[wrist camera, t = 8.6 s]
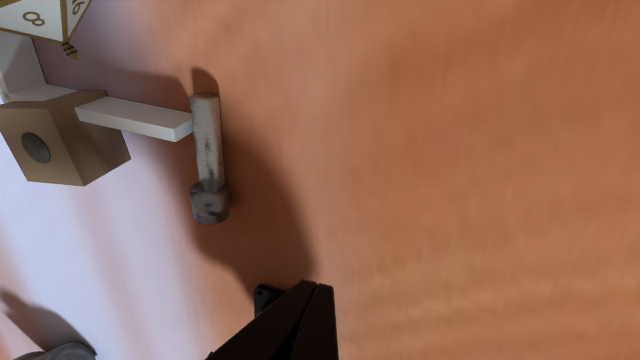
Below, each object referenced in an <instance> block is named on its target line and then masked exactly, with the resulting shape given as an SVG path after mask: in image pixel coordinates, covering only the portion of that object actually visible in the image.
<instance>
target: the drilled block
mask: <svg viewBox="0 0 640 360" xmlns="http://www.w3.org/2000/svg"><path fill="white" fill-rule="evenodd" d="M106 96H107V94H106V92H105V90H79V91H75V92H72V93H69V94H66V95H62V96H59V97H56V98H52V99H49V100H46V101H12V102H8V103H5V104H1V105H0V132H1V134H2V136H3V137H4V139H5V141H6V143H7V145H8V147H9V148H10V150H11V152H12V154H13V156H14V157H15V159H16V161H17V163H18V165H19V166H20V168H21V170H22V172H23V174H24V176H25V177H26V179H27V181H32V182H42V183H53V184H64V185H74V186H86V185H87V184H89V183H91V182H93V181H94V180H96V179H98V178H99V177H101V176H103V175H105V174H106V173H108V172H110V171H112V170H113V169H115V168H117V167H118V166H120V165H122V164H124V163H125V162H127V161H129V160H131V158H130V155H129V152H128V150H127V147H126V144H125V142H124V139H123V136H122V134H121V131H120V130H119V129H115V128H110V127H106V126H101V125H97V124H92V123H88V122H83V121H80V120H79V118H78V115H77V113H76V111H75V107H78V106H81V105H83V104H86V103H89V102H92V101H95V100H98V99H101V98H104V97H106Z"/></svg>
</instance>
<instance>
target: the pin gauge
mask: <svg viewBox="0 0 640 360" xmlns="http://www.w3.org/2000/svg"><path fill="white" fill-rule="evenodd" d="M190 106H191V115H192V123H193V132H194V141H195V150H196V158H197V167H198V176H199V182H197V183H195V184H194V185H192V186H191V188H190V197H191V205H192V212H193V218H194V220H195V221H196V222H198V223H201V224H205V225H212V224H217V223H220V222H222V221H224V220H226V219H227V218H228V216H229V214H230V208H229V192H228V185H227V184H226V183H225V177H224V163H223V149H222V134H221V120H220V106H219V97H218V96H217V95H215V94H209V93H200V94H194V95H192V96H190Z"/></svg>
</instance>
